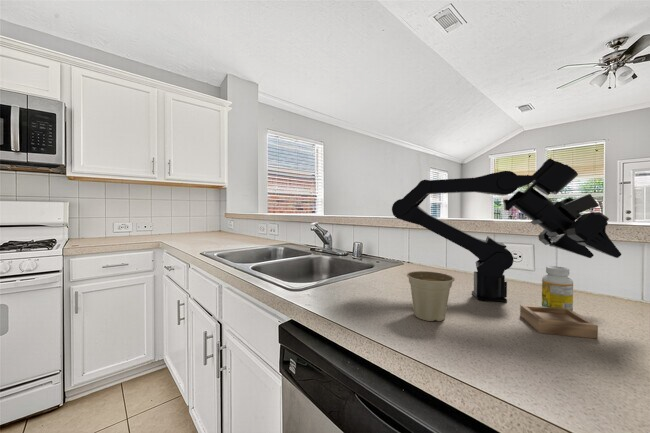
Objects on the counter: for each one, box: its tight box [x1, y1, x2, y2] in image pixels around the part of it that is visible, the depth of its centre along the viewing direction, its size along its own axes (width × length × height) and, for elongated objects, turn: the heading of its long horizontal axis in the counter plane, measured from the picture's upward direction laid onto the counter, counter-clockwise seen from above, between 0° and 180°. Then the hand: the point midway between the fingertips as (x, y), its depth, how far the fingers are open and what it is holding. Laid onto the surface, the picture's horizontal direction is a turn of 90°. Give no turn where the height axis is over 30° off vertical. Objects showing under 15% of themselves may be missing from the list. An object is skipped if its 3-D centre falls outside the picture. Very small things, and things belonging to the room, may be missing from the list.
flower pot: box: [406, 270, 456, 322], centre depth 58 cm, size 9×9×9 cm
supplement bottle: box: [541, 265, 574, 311], centre depth 62 cm, size 5×5×10 cm
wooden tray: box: [519, 304, 599, 339], centre depth 53 cm, size 9×9×2 cm
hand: (604, 256), depth 60 cm, fingers open, 9 cm apart
